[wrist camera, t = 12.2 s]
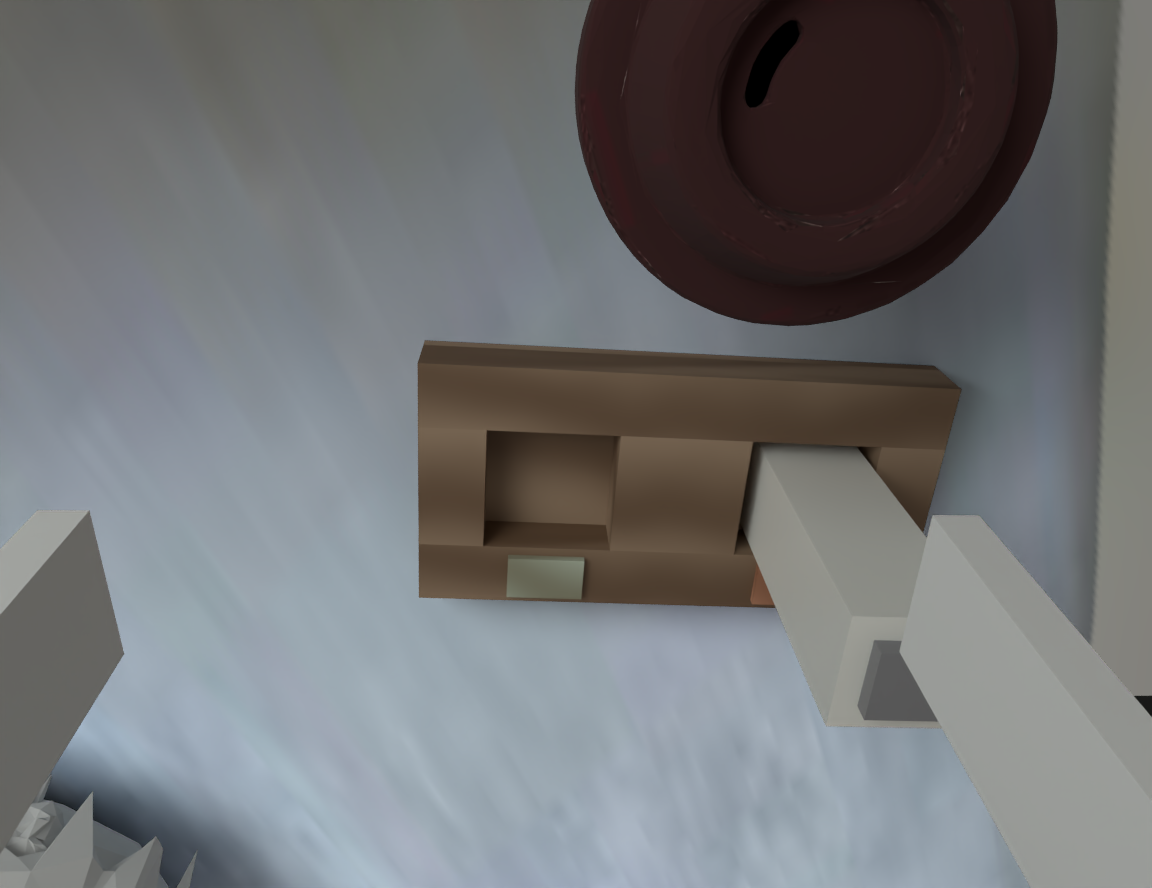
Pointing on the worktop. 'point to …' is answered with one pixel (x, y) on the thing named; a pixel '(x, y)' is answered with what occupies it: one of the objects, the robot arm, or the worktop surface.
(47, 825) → the bowl
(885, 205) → the coffee cup
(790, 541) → the plug
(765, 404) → the socket board
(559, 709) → the worktop surface
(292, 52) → the worktop surface
